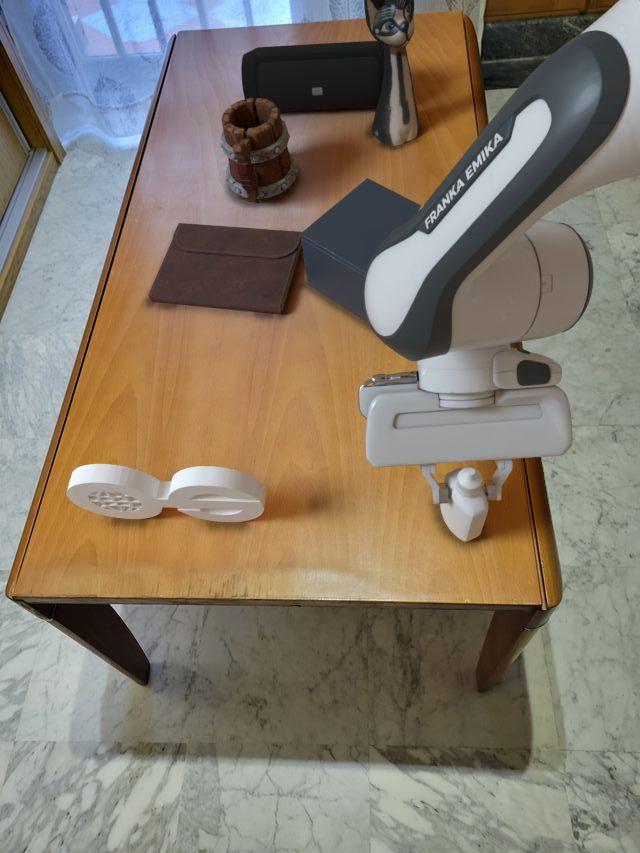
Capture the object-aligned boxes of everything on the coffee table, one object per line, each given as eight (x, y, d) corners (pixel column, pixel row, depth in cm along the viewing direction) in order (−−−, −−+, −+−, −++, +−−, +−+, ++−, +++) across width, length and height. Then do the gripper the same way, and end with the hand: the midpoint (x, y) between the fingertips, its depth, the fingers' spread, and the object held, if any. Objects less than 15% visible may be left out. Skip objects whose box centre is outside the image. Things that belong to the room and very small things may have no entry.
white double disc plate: (89, 517, 76) (50, 481, 67) (93, 500, 77) (56, 462, 68) (270, 523, 73) (254, 486, 64) (272, 505, 74) (257, 467, 66)
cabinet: (453, 278, 89) (460, 225, 81) (392, 337, 85) (392, 288, 77) (369, 231, 96) (367, 177, 87) (307, 284, 91) (299, 233, 83)
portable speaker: (248, 125, 112) (237, 69, 103) (255, 91, 117) (244, 35, 108) (394, 119, 109) (394, 60, 100) (395, 85, 114) (395, 26, 105)
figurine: (373, 153, 105) (369, -14, 83) (358, 128, 108) (350, -38, 87) (426, 137, 106) (435, -33, 84) (408, 113, 109) (413, -55, 88)
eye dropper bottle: (478, 496, 72) (493, 446, 62) (480, 543, 70) (496, 499, 59) (439, 495, 73) (447, 445, 63) (440, 542, 70) (449, 497, 60)
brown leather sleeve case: (282, 316, 89) (279, 306, 87) (151, 303, 92) (146, 293, 91) (304, 239, 96) (303, 229, 94) (182, 230, 100) (179, 220, 98)
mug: (305, 152, 106) (291, 75, 92) (294, 223, 101) (278, 153, 87) (237, 152, 108) (213, 76, 94) (224, 222, 103) (196, 153, 89)
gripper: (356, 381, 60) (366, 518, 63) (579, 365, 58) (577, 505, 62) (356, 370, 66) (365, 495, 69) (558, 355, 64) (557, 484, 68)
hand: (466, 500), depth 65 cm, fingers closed on eye dropper bottle, 4 cm apart
